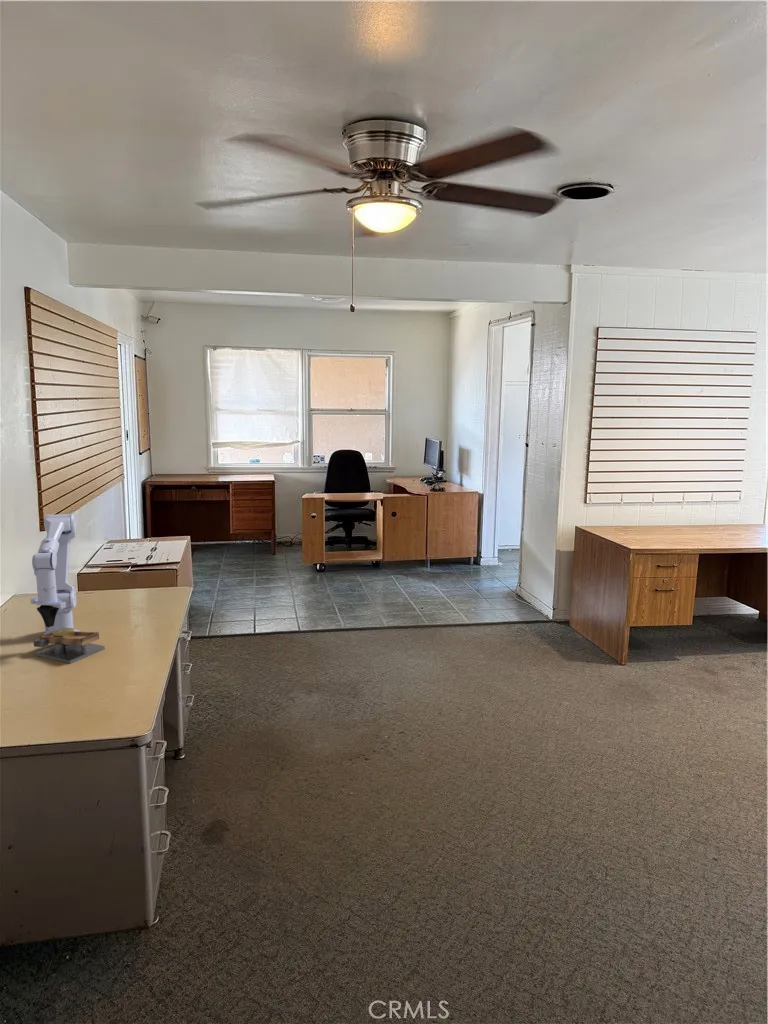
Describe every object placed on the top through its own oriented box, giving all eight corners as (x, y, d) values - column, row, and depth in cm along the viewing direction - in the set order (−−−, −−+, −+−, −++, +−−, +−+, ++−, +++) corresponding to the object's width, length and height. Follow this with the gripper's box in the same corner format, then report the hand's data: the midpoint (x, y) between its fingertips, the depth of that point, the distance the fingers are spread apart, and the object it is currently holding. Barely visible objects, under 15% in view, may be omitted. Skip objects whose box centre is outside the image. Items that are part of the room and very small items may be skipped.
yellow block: (53, 639, 218) (52, 631, 218) (64, 634, 222) (63, 627, 222) (63, 639, 216) (62, 632, 216) (74, 635, 220) (73, 628, 220)
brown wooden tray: (34, 646, 217) (32, 639, 217) (63, 635, 228) (62, 628, 227) (76, 649, 209) (75, 641, 208) (105, 637, 219) (104, 630, 219)
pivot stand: (35, 655, 216) (34, 642, 215) (71, 641, 228) (70, 629, 228) (70, 663, 209) (69, 650, 208) (104, 648, 222) (103, 636, 221)
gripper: (21, 588, 218) (24, 626, 220) (51, 593, 212) (54, 632, 215) (39, 582, 225) (42, 620, 227) (69, 587, 219) (72, 626, 221)
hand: (49, 626), depth 221 cm, fingers closed
